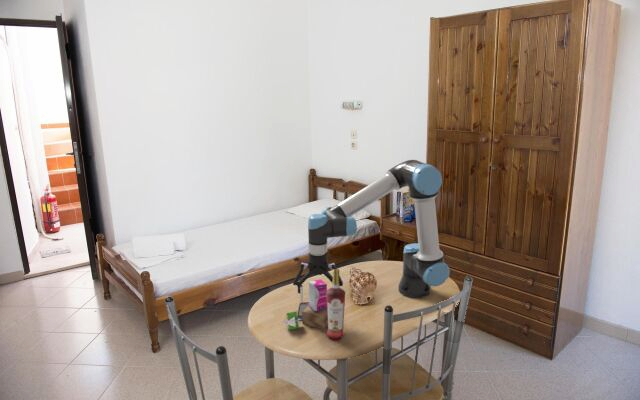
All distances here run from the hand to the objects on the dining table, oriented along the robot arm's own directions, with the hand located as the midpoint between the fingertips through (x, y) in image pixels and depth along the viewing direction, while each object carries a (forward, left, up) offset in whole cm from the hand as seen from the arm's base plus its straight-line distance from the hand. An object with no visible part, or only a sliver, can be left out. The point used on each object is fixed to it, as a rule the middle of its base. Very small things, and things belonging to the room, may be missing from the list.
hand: (318, 300), depth 191 cm
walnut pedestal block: (0, 0, -10) cm, 10 cm away
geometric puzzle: (+10, +6, -10) cm, 15 cm away
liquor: (-7, +12, -9) cm, 17 cm away
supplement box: (0, 0, -4) cm, 4 cm away
